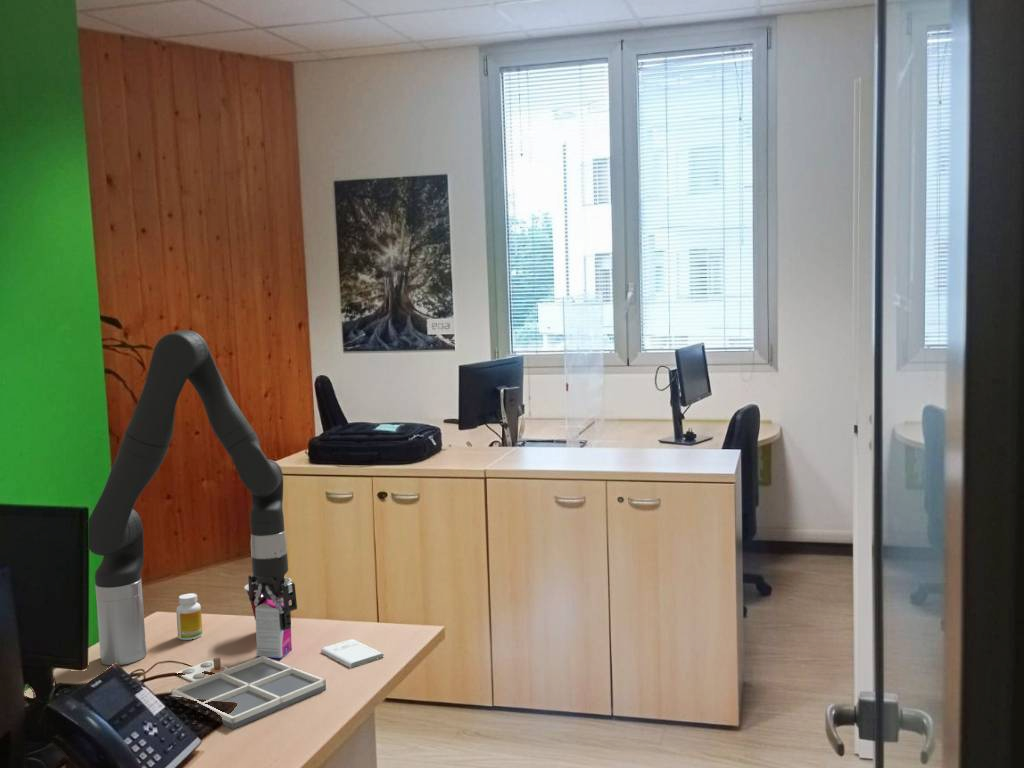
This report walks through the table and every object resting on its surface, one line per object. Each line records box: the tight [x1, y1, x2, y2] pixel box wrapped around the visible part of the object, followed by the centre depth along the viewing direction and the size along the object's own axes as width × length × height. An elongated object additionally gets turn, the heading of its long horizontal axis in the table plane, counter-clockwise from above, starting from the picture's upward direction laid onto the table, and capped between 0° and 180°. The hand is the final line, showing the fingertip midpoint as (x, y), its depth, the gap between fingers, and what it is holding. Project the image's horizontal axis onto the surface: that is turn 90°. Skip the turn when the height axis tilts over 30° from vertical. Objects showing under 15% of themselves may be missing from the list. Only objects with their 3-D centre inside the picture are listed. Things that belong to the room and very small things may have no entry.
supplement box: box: [255, 600, 293, 661], centre depth 198 cm, size 6×6×12 cm
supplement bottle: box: [175, 593, 203, 641], centre depth 211 cm, size 5×5×10 cm
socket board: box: [170, 656, 327, 730], centre depth 178 cm, size 21×21×2 cm
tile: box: [175, 657, 230, 683], centre depth 189 cm, size 8×8×3 cm
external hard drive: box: [320, 638, 385, 669], centre depth 197 cm, size 2×8×12 cm
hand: (274, 625), depth 197 cm, fingers open, 8 cm apart
